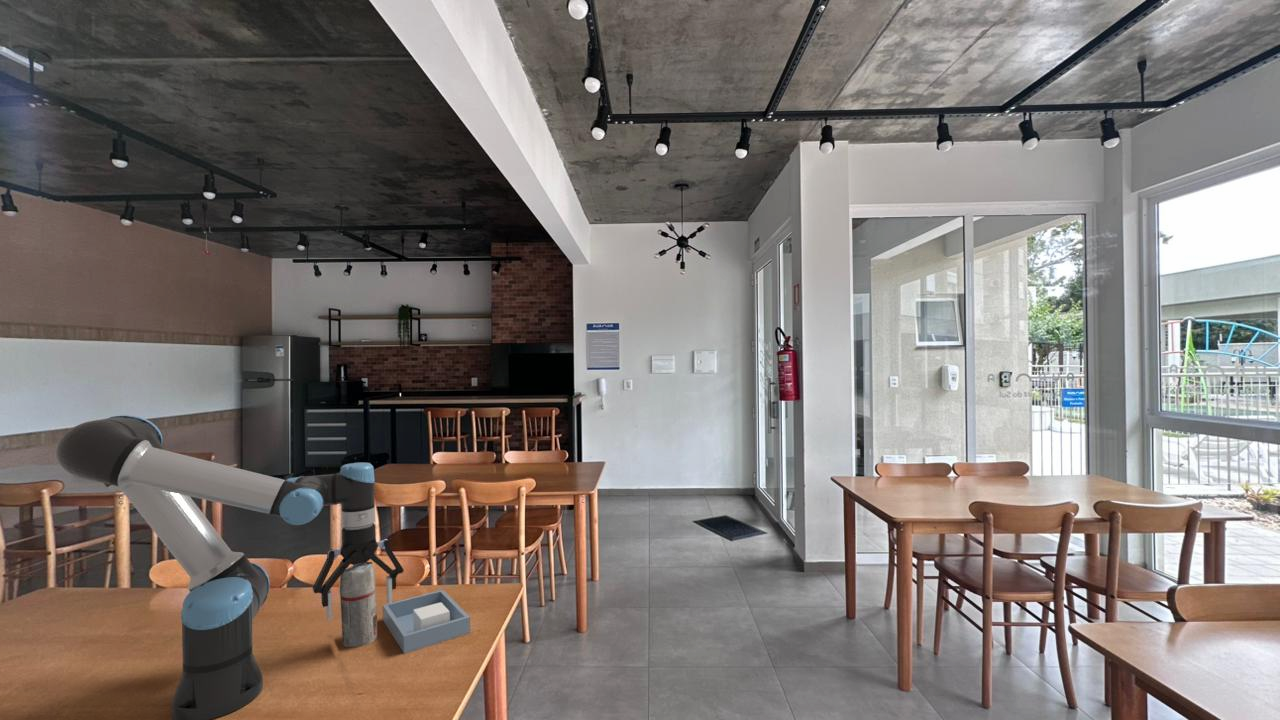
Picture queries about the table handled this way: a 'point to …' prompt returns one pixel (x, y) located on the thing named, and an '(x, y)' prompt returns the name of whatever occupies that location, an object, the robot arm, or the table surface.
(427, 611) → the soap bar
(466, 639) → the table surface
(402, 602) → the tote
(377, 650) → the table surface
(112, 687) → the table surface
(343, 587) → the grey banded cylinder
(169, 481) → the robot arm
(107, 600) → the table surface
